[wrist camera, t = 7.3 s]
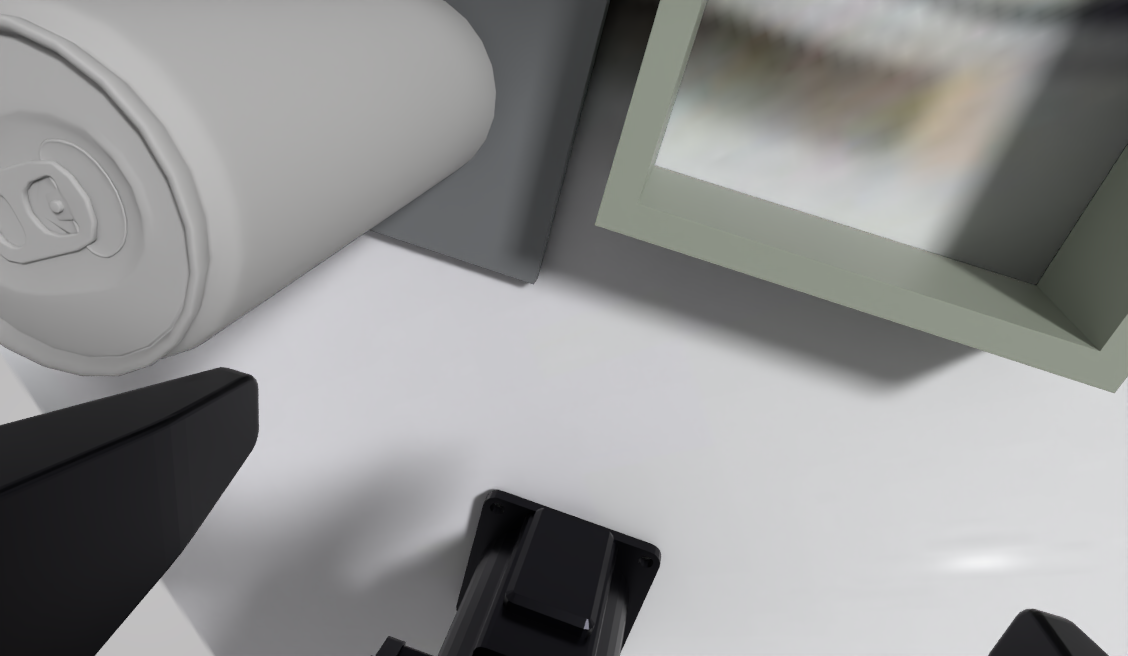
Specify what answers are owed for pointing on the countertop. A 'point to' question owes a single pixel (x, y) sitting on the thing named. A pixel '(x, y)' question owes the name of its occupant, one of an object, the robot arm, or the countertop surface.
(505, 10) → the pad
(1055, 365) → the case
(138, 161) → the beverage can
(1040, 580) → the countertop surface
